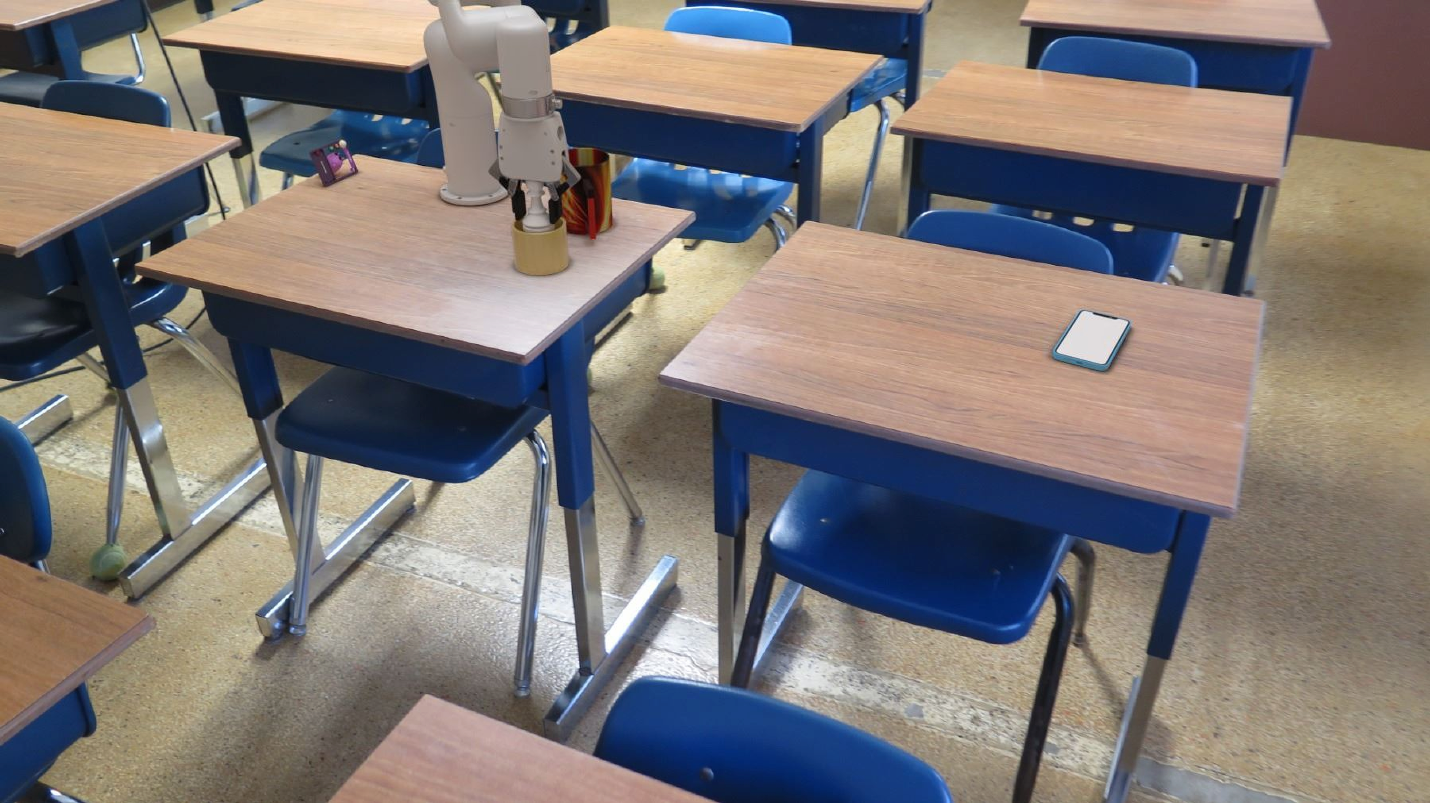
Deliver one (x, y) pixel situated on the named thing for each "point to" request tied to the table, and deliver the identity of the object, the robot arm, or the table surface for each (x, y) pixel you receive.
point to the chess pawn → (536, 210)
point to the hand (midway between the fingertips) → (538, 218)
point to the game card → (331, 162)
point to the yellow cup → (540, 249)
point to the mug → (588, 193)
